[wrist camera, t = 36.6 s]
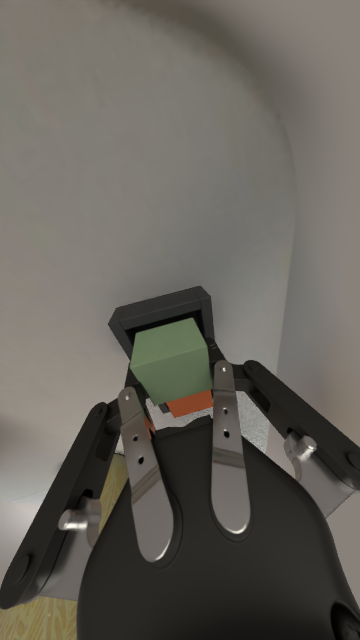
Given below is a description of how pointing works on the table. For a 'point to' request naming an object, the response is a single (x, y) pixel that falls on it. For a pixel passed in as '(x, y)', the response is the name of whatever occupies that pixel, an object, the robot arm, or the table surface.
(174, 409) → the terracotta cube
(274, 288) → the table surface
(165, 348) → the green square block
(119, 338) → the frame
